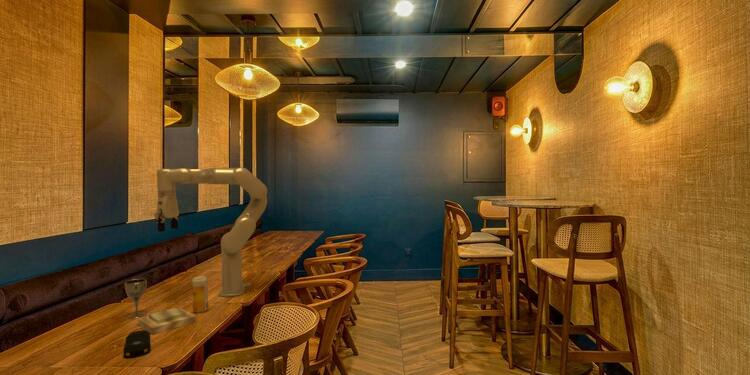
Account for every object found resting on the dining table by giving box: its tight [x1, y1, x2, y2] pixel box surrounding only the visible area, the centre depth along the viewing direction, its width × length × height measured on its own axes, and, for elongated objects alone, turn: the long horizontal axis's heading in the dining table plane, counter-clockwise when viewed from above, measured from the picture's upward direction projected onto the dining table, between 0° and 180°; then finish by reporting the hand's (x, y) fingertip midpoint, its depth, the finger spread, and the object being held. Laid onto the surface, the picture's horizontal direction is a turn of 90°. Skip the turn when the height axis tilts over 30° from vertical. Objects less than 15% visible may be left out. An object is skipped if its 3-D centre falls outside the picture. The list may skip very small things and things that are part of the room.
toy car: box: [123, 328, 151, 358], centre depth 125 cm, size 8×17×5 cm, turn 32°
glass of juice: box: [191, 275, 209, 314], centre depth 161 cm, size 6×6×15 cm
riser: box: [137, 307, 197, 336], centre depth 147 cm, size 16×16×4 cm
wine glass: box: [124, 278, 148, 319], centre depth 157 cm, size 8×8×15 cm
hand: (168, 229), depth 174 cm, fingers open, 9 cm apart
